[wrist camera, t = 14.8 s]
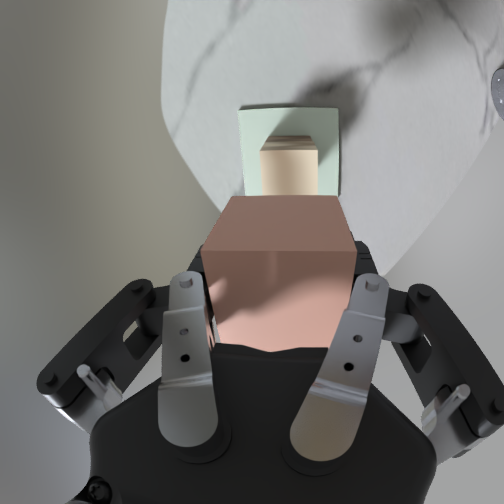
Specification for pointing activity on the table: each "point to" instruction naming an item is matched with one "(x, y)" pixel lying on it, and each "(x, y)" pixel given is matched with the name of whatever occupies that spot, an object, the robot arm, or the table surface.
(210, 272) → the cube terracotta
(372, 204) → the table surface
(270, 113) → the build plate
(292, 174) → the cube maple
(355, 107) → the table surface
